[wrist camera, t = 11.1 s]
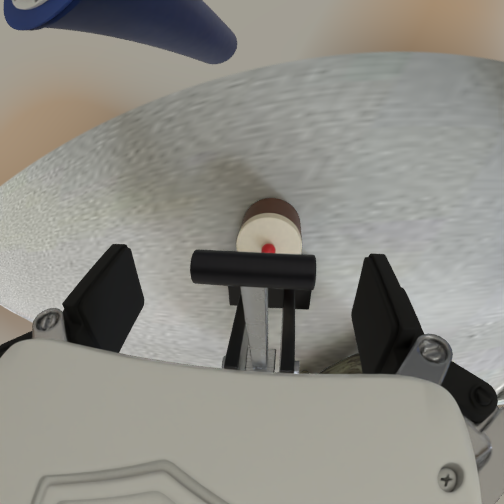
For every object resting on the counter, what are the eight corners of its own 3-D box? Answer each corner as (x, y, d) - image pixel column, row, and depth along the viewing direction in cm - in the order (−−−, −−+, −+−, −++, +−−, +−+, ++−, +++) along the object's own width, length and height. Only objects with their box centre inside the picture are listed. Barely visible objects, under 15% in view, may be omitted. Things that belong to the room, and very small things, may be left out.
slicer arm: (198, 234, 13) (184, 279, 11) (315, 239, 12) (317, 287, 11) (233, 357, 24) (229, 383, 23) (291, 361, 24) (290, 387, 22)
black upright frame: (228, 254, 31) (194, 355, 19) (313, 258, 30) (324, 365, 19) (231, 298, 34) (205, 398, 22) (308, 302, 33) (312, 406, 22)
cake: (242, 196, 28) (232, 221, 23) (301, 199, 27) (305, 224, 22) (244, 248, 31) (235, 280, 26) (298, 250, 30) (299, 283, 25)
